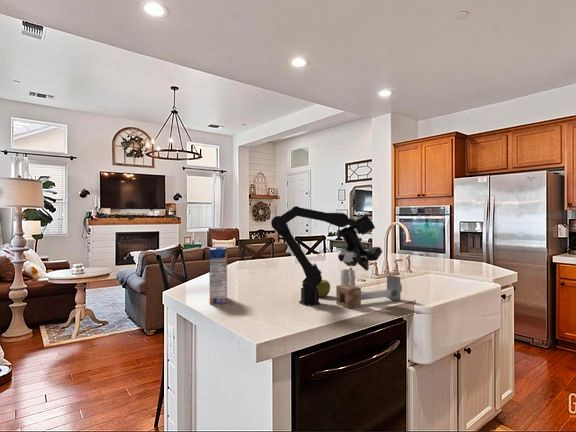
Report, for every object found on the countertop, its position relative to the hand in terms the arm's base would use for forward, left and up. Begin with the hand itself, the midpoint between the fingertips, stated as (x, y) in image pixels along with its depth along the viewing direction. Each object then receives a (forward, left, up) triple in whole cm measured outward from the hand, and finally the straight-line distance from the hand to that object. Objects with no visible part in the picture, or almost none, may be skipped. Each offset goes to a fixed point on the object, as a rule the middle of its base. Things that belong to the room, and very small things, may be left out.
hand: (367, 269), depth 150 cm
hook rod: (+1, -4, -12) cm, 13 cm away
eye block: (-13, -4, -13) cm, 18 cm away
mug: (+3, +18, -13) cm, 22 cm away
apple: (-14, +15, -13) cm, 24 cm away
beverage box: (-57, +27, -13) cm, 64 cm away
